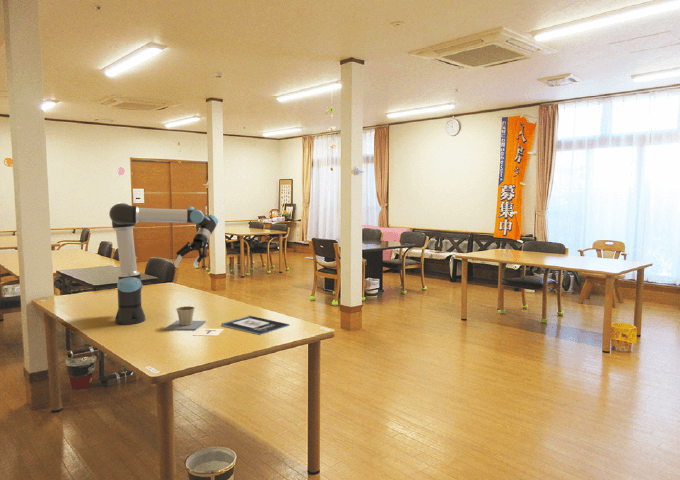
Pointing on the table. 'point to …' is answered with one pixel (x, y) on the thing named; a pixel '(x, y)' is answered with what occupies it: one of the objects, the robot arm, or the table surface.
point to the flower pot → (185, 315)
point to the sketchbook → (255, 325)
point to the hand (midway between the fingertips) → (184, 265)
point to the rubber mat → (177, 326)
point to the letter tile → (208, 332)
